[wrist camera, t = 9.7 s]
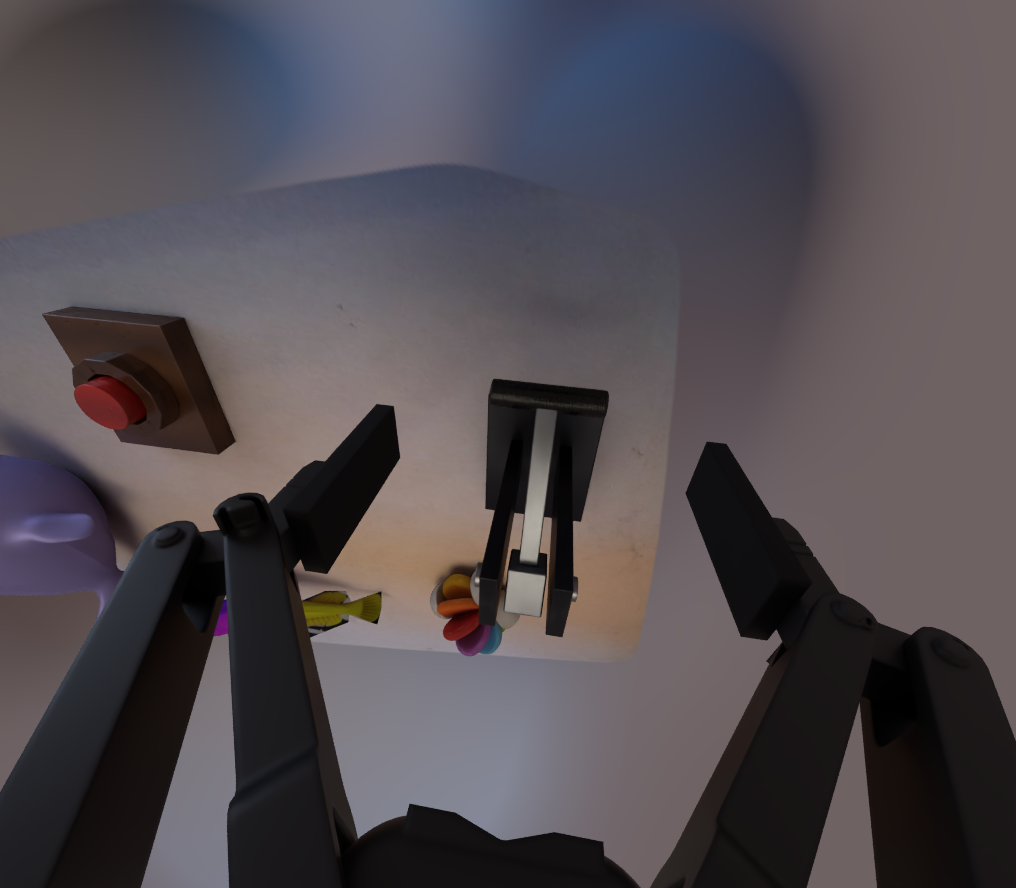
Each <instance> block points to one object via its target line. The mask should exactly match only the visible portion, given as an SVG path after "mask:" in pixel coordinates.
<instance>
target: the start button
mask: <svg viewBox="0 0 1016 888" xmlns="http://www.w3.org/2000/svg"><path fill="white" fill-rule="evenodd" d="M74 396H75V400H76V402H77V404H78V405H79V407H80V408H81V409H82V411H83V412H84V413H85V414H86V415H87V416H88V417H90V418H91V419H92V420H94V421H95V422H97V423H98V424H100V425H102V426H104V427H107V428H110V429H114V430H120V429H124V428H126V427H127V426H129V425H131V424H133V423H135V422H137V421H138V420H140V419H142V418H144V417H145V416H146V414H147V410H146V408H145V406H144V404H143V402H142V400H141V399H140V397H139V396H138V395H137V394H136V393H135V392H134V391H133V390H132V389H131V388H130V387H129V386H128V385H127V384H125V383H123V382H121V381H120V380H118V379H116V378H114V377H112V376H102V377H99V378H97V379H94V380H92V381H89V382H87V383H84V384H82V385H79V386H78V387H77V388H76V389H75V391H74Z"/></svg>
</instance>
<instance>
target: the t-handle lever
mask: <svg viewBox="0 0 1016 888" xmlns="http://www.w3.org/2000/svg"><path fill="white" fill-rule="evenodd" d="M608 401H609V394H608V391H605V390H596V389H586V388H577V387H568V386H558V385H549V384H539V383H530V382H521V381H511V380H502V379H493V381H492V384H491V390H490V404H491V406H497V407H506V408H515V409H524V410H533V411H536V417H535V425H534V434H533V443H532V451H531V460H530V469H529V477H528V486H527V495H526V503H525V512H524V521H523V529H522V538H521V547H520V550H517V549H512V551H511V556H510V561H509V566H508V572H507V581H506V591H505V600H504V609H503V610H504V612H509V613H515V614H522V615H528V616H534V617H541V614H542V607H543V600H544V592H545V585H546V578H547V554H545V553H539V551H540V543H541V536H542V528H543V520H544V512H545V505H546V497H547V489H548V482H549V474H550V466H551V458H552V451H553V443H554V435H555V427H556V420H557V413H559V414H568V415H577V416H586V417H595V418H604V417H605V416H606V413H607V408H608Z"/></svg>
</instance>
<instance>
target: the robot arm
mask: <svg viewBox="0 0 1016 888" xmlns="http://www.w3.org/2000/svg"><path fill="white" fill-rule="evenodd" d="M399 459H400V452H399V444H398V436H397V428H396V420H395V412H394V406H389V405H380V404H376V405H375V407H374V408H373V409H372V410H371V411H370V412H369V413H368V414H367V415H366V417H365V418H364V419H363V420H362V421H361V422H360V423H359V424H358V425H357V427H356V428H355V429H354V430H353V431H352V432H351V433H350V434H349V436H348V437H347V438H346V439H345V440H344V441H343V442H342V443H341V444H340V446H339V447H338V448H337V449H336V450H335V451H334V452H333V453H332V454H331V456H330V457H329V458H328V459H327V460H326V461H325V462H324V461H317V460H315V461H313V462H312V463H310V464H308V465H307V466H305V467H303V468H302V469H301V470H300V471H299V472H298V473H297V474H296V475H295V476H294V477H293V479H291V480H290V481H289V482H288V483H287V484H286V487H284V488H283V489H282V490H281V491H280V492H279V493H278V494H277V495H276V496H275V497H274V498H273V499H272V500H271V501H270V502H269V503H267V501H266V499H265V497H264V496H263V495H261V494H258V493H243V494H238V495H236V496H233V497H230V498H228V499H227V500H225V501H223V502H222V503H220V504H219V505H218V507H217V508H216V509H215V510H214V513H213V517H214V519H215V521H216V523H217V525H218V527H219V529H220V530H214V531H205V532H199V530H198V528H197V527H196V525H195V524H194V523H193V522H189V521H175V522H172V523H168V524H165V525H163V526H161V527H158V528H156V529H155V530H153V531H152V532H150V533H149V534H148V535H146V537H145V538H144V539H143V540H142V541H141V543H140V544H139V546H138V548H137V550H136V552H135V553H134V555H133V557H132V559H131V560H130V562H129V564H128V566H127V568H126V569H125V571H124V573H123V575H122V576H121V578H120V580H119V582H118V584H117V585H116V587H115V589H114V591H113V592H112V594H111V596H110V598H109V600H108V601H107V603H106V605H105V607H104V608H103V610H102V612H101V614H100V616H99V617H98V619H97V621H96V623H95V624H94V626H93V628H92V630H91V632H90V633H89V635H88V637H87V639H86V641H85V642H84V644H83V646H82V648H81V649H80V651H79V653H78V655H77V656H76V658H75V660H74V662H73V664H72V666H71V667H70V669H69V671H68V672H67V675H66V676H65V678H64V680H63V681H62V683H61V685H60V687H59V689H58V690H57V692H56V694H55V696H54V697H53V699H52V701H51V703H50V705H49V706H48V708H47V710H46V712H45V714H44V715H43V717H42V719H41V721H40V722H39V724H38V726H37V728H36V729H35V731H34V733H33V735H32V737H31V738H30V740H29V742H28V744H27V745H26V747H25V749H24V751H23V753H22V754H21V756H20V758H19V760H18V761H17V763H16V765H15V767H14V769H13V771H12V772H11V774H10V776H9V777H8V779H7V781H6V783H5V785H4V786H3V788H2V790H1V792H0V888H141V885H142V881H143V878H144V874H145V870H146V867H147V864H148V860H149V857H150V854H151V850H152V846H153V843H154V840H155V836H156V833H157V829H158V826H159V822H160V819H161V815H162V812H163V809H164V805H165V802H166V798H167V795H168V791H169V788H170V784H171V781H172V778H173V774H174V771H175V767H176V764H177V760H178V757H179V753H180V750H181V747H182V743H183V740H184V736H185V732H186V729H187V726H188V722H189V719H190V715H191V712H192V709H193V705H194V702H195V698H196V695H197V691H198V688H199V684H200V681H201V678H202V674H203V671H204V667H205V664H206V660H207V657H208V653H209V650H210V646H211V643H212V639H213V636H214V633H215V629H216V626H217V622H218V619H219V615H220V612H221V609H222V605H223V602H224V598H225V595H226V598H227V617H228V636H229V654H230V673H231V693H232V711H233V731H234V749H235V768H236V792H235V796H234V797H233V799H232V800H231V802H230V803H229V809H228V813H227V838H228V868H229V888H640V887H639V885H638V884H637V883H636V882H635V881H634V879H632V878H631V877H630V876H629V875H628V874H627V873H626V872H625V871H624V870H623V869H622V868H621V867H620V866H618V865H617V864H616V863H615V862H613V861H612V860H611V859H609V858H607V857H605V856H604V847H603V842H601V841H596V840H591V839H586V838H581V837H576V836H571V835H566V834H561V833H555V832H553V833H548V834H542V835H536V836H530V837H524V838H518V839H512V840H500V839H498V838H496V837H495V836H493V835H492V834H490V833H488V832H487V831H485V830H483V829H482V828H480V827H478V826H477V825H475V824H473V823H472V822H470V821H468V820H467V819H465V818H463V817H462V816H460V815H458V814H457V813H454V812H449V811H444V810H439V809H434V808H429V807H423V806H419V805H414V804H409V808H408V812H407V816H402V817H397V818H394V819H392V820H389V821H386V822H384V823H382V824H380V825H378V826H376V827H374V828H373V829H371V830H370V831H368V832H367V833H365V834H364V835H362V836H361V837H360V838H359V839H358V837H357V832H356V828H355V824H354V820H353V816H352V813H351V809H350V806H349V803H348V800H347V797H346V793H345V790H344V786H343V782H342V778H341V773H340V769H339V765H338V760H337V756H336V751H335V747H334V742H333V738H332V733H331V729H330V724H329V720H328V715H327V711H326V707H325V702H324V698H323V693H322V689H321V684H320V680H319V675H318V671H317V667H316V662H315V658H314V654H313V649H312V645H311V640H310V635H309V631H308V627H307V622H306V618H305V613H304V609H303V604H302V600H301V596H300V591H299V587H298V582H297V578H296V574H295V571H294V567H295V566H296V565H297V563H298V562H299V561H300V559H301V561H302V564H303V567H304V569H305V571H311V572H318V573H324V574H327V573H328V572H329V570H330V568H331V567H332V565H333V564H334V562H335V561H336V559H337V557H338V556H339V554H340V553H341V551H342V549H343V548H344V546H345V545H346V543H347V541H348V540H349V538H350V537H351V535H352V534H353V532H354V530H355V529H356V527H357V526H358V524H359V522H360V521H361V519H362V518H363V516H364V514H365V513H366V511H367V510H368V508H369V507H370V505H371V503H372V502H373V500H374V499H375V497H376V495H377V494H378V492H379V491H380V489H381V487H382V486H383V484H384V483H385V481H386V480H387V478H388V476H389V475H390V473H391V472H392V470H393V468H394V467H395V465H396V464H397V462H398V460H399ZM686 496H687V498H688V501H689V503H690V506H691V508H692V511H693V513H694V516H695V519H696V521H697V524H698V527H699V529H700V532H701V534H702V537H703V540H704V542H705V545H706V548H707V550H708V553H709V555H710V558H711V560H712V563H713V566H714V568H715V571H716V573H717V576H718V579H719V581H720V584H721V586H722V589H723V592H724V594H725V597H726V599H727V602H728V605H729V607H730V610H731V612H732V615H733V618H734V620H735V623H736V625H737V628H738V630H739V633H740V636H741V637H747V638H754V639H760V640H768V639H769V638H770V636H771V635H772V634H773V633H774V631H775V630H776V629H777V631H778V633H779V635H780V637H781V640H782V643H781V644H780V646H779V647H778V648H777V649H776V650H775V651H774V653H773V654H772V655H771V656H770V658H769V659H768V660H767V662H768V663H769V665H768V667H767V669H766V671H765V673H764V675H763V677H762V679H761V682H760V683H759V685H758V687H757V689H756V691H755V693H754V695H753V697H752V698H751V700H750V703H749V704H748V706H747V708H746V710H745V712H744V715H743V716H742V718H741V720H740V722H739V724H738V726H737V728H736V730H735V732H734V734H733V736H732V738H731V739H730V741H729V743H728V745H727V747H726V749H725V751H724V753H723V755H722V757H721V759H720V761H719V763H718V765H717V767H716V769H715V771H714V773H713V775H712V777H711V779H710V780H709V783H708V784H707V786H706V788H705V790H704V792H703V794H702V796H701V798H700V800H699V802H698V804H697V806H696V808H695V810H694V812H693V814H692V816H691V818H690V820H689V822H688V823H687V825H686V827H685V829H684V831H683V833H682V835H681V837H680V839H679V841H678V843H677V845H676V847H675V849H674V851H673V852H672V854H671V856H670V857H669V859H668V860H667V862H666V863H665V864H664V866H663V867H662V869H661V870H660V872H659V873H658V875H657V877H656V878H655V880H654V882H653V883H652V885H651V887H650V888H806V887H807V884H808V881H809V877H810V874H811V870H812V867H813V863H814V859H815V856H816V852H817V849H818V845H819V842H820V839H821V835H822V832H823V828H824V825H825V821H826V818H827V814H828V811H829V807H830V804H831V800H832V796H833V793H834V790H835V786H836V783H837V779H838V776H839V772H840V769H841V765H842V762H843V758H844V755H845V751H846V748H847V744H848V740H849V737H850V733H851V730H852V727H853V723H854V719H855V716H856V713H857V709H858V706H859V702H860V712H861V721H862V732H863V743H864V754H865V764H866V775H867V786H868V796H869V807H870V817H871V828H872V838H873V849H874V860H875V869H876V880H877V888H1016V741H1015V738H1014V735H1013V732H1012V730H1011V727H1010V725H1009V722H1008V719H1007V717H1006V714H1005V712H1004V709H1003V706H1002V704H1001V701H1000V698H999V696H998V693H997V690H996V688H995V685H994V682H993V680H992V677H991V675H990V672H989V669H988V667H987V666H986V664H985V662H984V661H983V659H982V658H981V657H980V656H979V655H978V654H977V653H976V652H975V651H974V650H973V649H972V648H971V647H970V646H968V645H967V644H966V643H964V642H963V641H961V640H960V639H959V638H957V637H955V636H953V635H951V634H949V633H947V632H945V631H942V630H940V629H936V628H933V627H922V628H920V629H918V630H917V631H916V632H915V633H913V634H912V635H909V634H907V633H904V632H901V631H899V630H896V629H893V628H891V627H888V626H885V625H882V624H880V623H878V622H877V621H876V619H875V617H874V616H873V615H872V614H871V613H870V612H869V611H868V610H867V609H866V608H865V607H864V606H863V605H861V604H860V603H858V602H857V601H855V600H854V599H852V598H850V597H847V596H845V595H843V594H840V593H839V592H838V590H837V589H836V587H835V586H834V584H833V583H832V581H831V580H830V578H829V577H828V575H827V574H826V572H825V571H824V569H823V568H822V566H821V565H820V563H819V562H818V560H817V559H816V557H813V553H812V551H811V550H810V549H809V547H808V546H806V542H805V541H804V539H803V538H802V536H801V535H800V534H799V532H798V531H797V530H796V529H795V528H794V527H793V526H791V525H790V524H789V523H788V522H787V521H786V520H784V519H779V518H772V517H771V515H770V513H769V512H768V510H767V509H766V507H765V505H764V504H763V502H762V501H761V499H760V497H759V496H758V494H757V493H756V491H755V490H754V488H753V486H752V484H751V483H750V481H749V480H748V478H747V477H746V475H745V473H744V472H743V470H742V468H741V467H740V465H739V464H738V462H737V460H736V459H735V457H734V455H733V454H732V452H731V451H730V449H729V447H728V446H727V444H723V443H714V442H706V445H705V447H704V450H703V452H702V454H701V457H700V459H699V462H698V464H697V467H696V469H695V471H694V474H693V476H692V479H691V481H690V484H689V486H688V489H687V491H686Z"/></svg>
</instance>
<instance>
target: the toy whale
mask: <svg viewBox="0 0 1016 888" xmlns="http://www.w3.org/2000/svg"><path fill="white" fill-rule="evenodd" d="M123 573H124V571H121V570H119V569H118V568H117V565H116V548H115V541H114V538H113V536H112V534H111V531H110V527H109V524H108V520H107V516H106V513H105V511H104V509H103V508H102V506H101V504H100V502H99V501H98V499H97V497H96V496H95V495H94V493H93V492H92V491H91V490H90V488H89V487H88V486H87V485H86V484H85V483H84V482H83V481H82V480H80V479H79V478H78V477H76V476H75V475H73V474H72V473H70V472H68V471H66V470H64V469H62V468H59V467H57V466H54V465H51V464H48V463H45V462H41V461H37V460H33V459H28V458H22V457H15V456H6V455H0V595H10V596H12V595H13V596H14V595H15V596H41V595H42V596H43V595H58V594H66V593H72V592H79V591H89V590H90V591H94V592H95V593H96V594H97V596H98V599H99V611H98V614H97V618H96V621H97V619H98V617H99V616H100V614H101V612H102V610H103V608H104V607H105V605H106V603H107V601H108V600H109V598H110V596H111V594H112V592H113V591H114V589H115V587H116V585H117V584H118V582H119V580H120V578H121V576H122V575H123Z"/></svg>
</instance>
